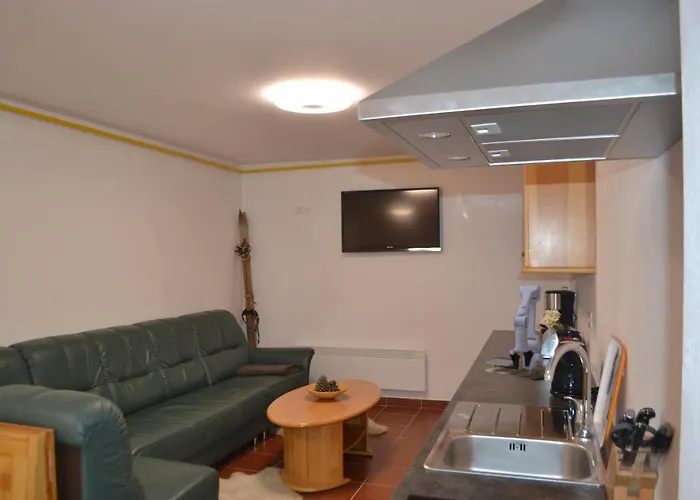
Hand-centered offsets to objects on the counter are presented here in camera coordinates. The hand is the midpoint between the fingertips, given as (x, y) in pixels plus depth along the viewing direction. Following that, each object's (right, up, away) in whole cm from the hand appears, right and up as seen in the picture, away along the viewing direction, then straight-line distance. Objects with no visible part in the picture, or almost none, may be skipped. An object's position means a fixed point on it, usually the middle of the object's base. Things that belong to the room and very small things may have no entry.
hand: (521, 367), depth 269 cm
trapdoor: (-5, -3, +12) cm, 14 cm away
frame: (-6, -4, +11) cm, 13 cm away
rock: (+2, +3, -4) cm, 5 cm away
